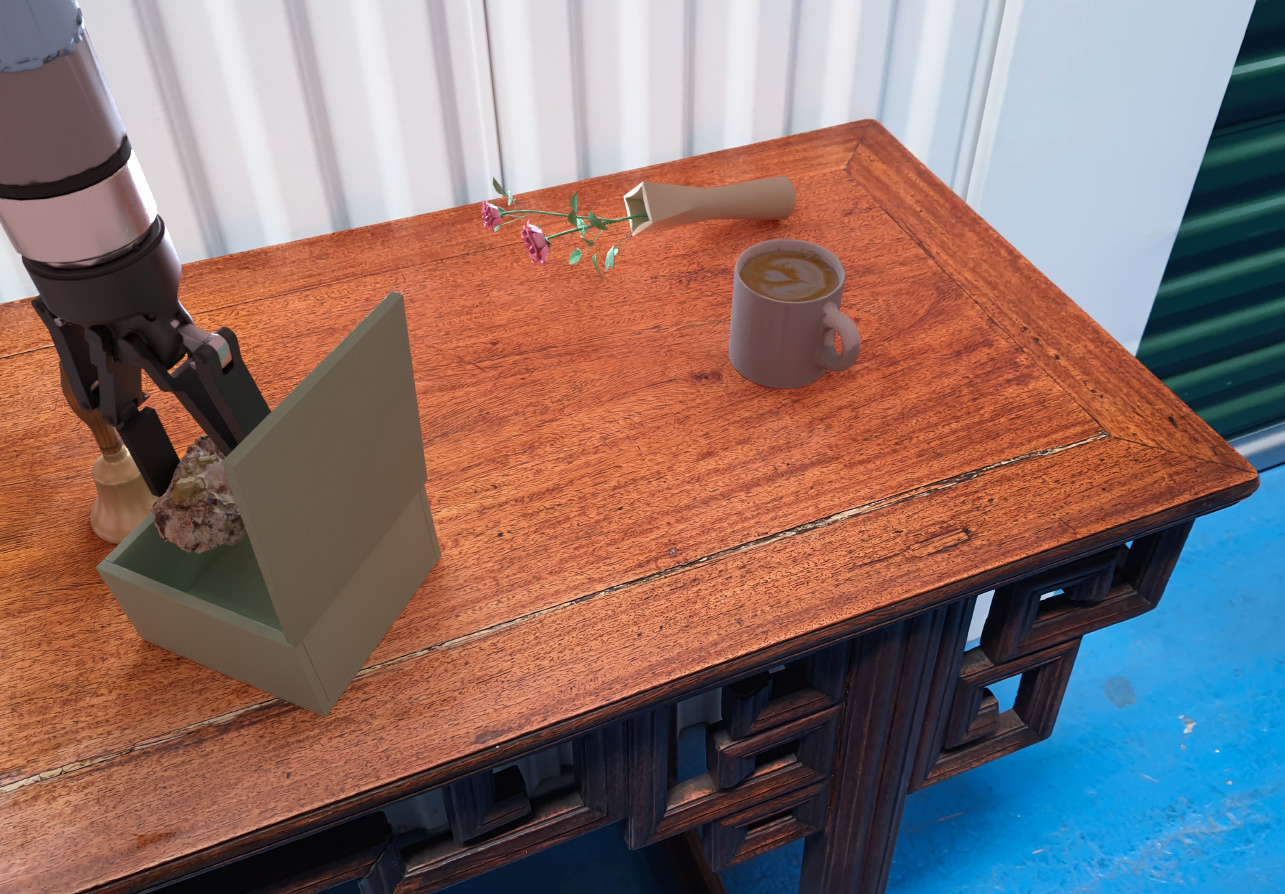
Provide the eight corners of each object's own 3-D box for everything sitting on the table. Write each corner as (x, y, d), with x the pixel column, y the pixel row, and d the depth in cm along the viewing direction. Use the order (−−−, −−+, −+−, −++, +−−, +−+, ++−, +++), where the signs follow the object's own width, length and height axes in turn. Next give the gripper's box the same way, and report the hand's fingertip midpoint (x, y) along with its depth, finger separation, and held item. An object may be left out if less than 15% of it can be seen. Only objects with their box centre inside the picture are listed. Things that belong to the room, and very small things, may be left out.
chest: (141, 639, 74) (94, 567, 68) (273, 495, 84) (243, 421, 78) (325, 718, 70) (293, 648, 63) (442, 556, 80) (424, 482, 73)
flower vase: (774, 289, 116) (497, 326, 99) (728, 212, 121) (457, 236, 104) (821, 217, 107) (524, 245, 90) (769, 137, 112) (479, 149, 95)
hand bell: (144, 459, 87) (68, 315, 76) (216, 489, 85) (149, 345, 73) (69, 524, 82) (-25, 380, 71) (143, 559, 79) (58, 415, 68)
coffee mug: (708, 342, 98) (713, 258, 91) (790, 311, 101) (801, 227, 94) (789, 424, 90) (801, 339, 83) (875, 387, 93) (894, 301, 86)
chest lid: (220, 461, 50) (233, 467, 50) (392, 289, 60) (403, 293, 60) (286, 642, 63) (296, 647, 63) (418, 476, 73) (428, 479, 73)
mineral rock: (270, 526, 67) (137, 525, 64) (269, 569, 70) (142, 569, 67) (275, 421, 74) (157, 416, 72) (274, 464, 77) (160, 460, 74)
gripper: (287, 237, 55) (371, 508, 71) (4, 162, 60) (141, 427, 77) (194, 316, 50) (307, 587, 66) (-104, 226, 56) (67, 494, 72)
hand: (218, 501), depth 71 cm, fingers closed on mineral rock, 8 cm apart
